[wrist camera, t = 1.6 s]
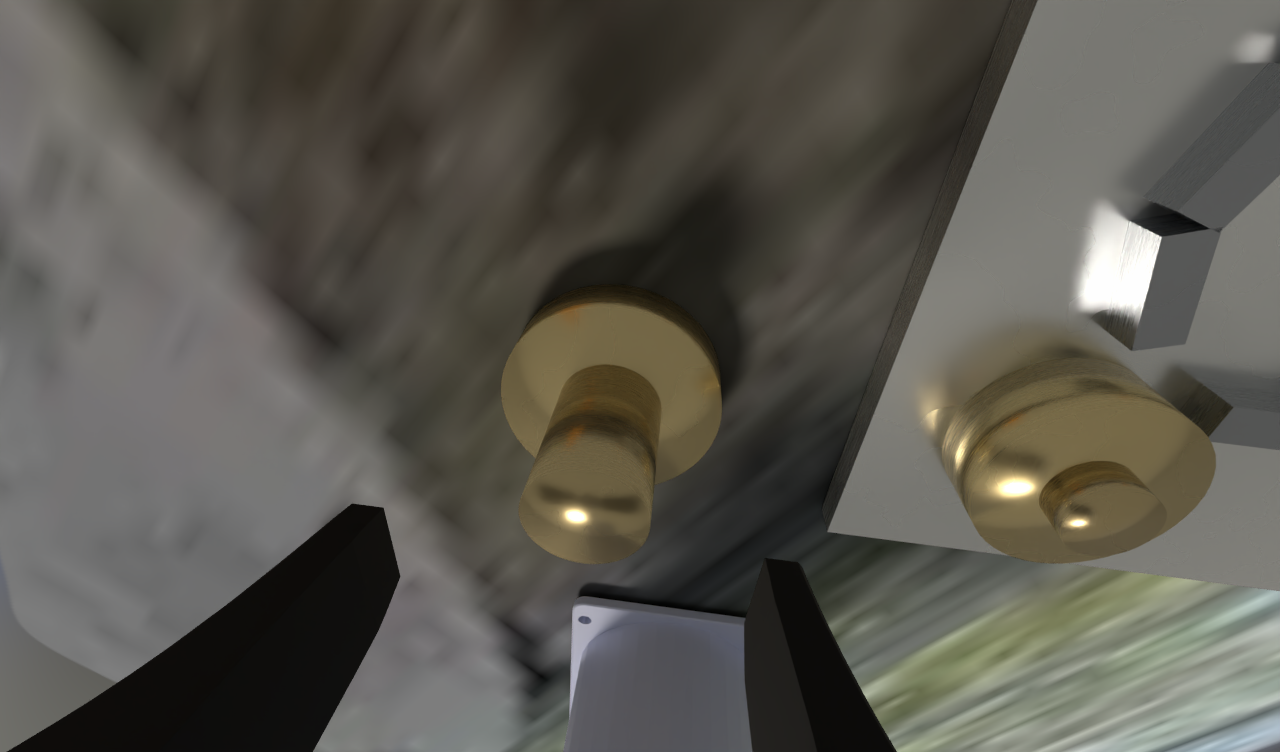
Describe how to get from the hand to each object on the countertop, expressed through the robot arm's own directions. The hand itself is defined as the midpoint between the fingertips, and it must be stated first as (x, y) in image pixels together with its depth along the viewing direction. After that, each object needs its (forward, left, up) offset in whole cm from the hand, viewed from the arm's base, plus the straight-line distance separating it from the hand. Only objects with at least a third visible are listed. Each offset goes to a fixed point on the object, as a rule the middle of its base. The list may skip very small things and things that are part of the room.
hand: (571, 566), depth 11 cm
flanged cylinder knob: (0, 0, -7) cm, 7 cm away
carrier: (+4, -14, -7) cm, 16 cm away
